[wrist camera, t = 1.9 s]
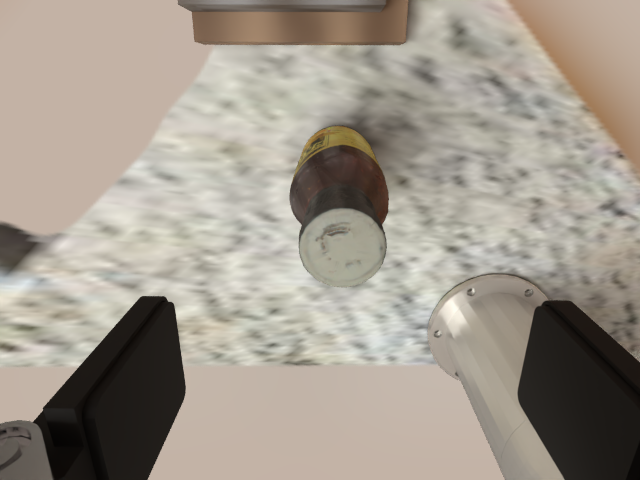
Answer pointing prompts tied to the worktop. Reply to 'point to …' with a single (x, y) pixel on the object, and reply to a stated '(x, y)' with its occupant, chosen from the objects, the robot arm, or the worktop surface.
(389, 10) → the dock
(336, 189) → the sauce bottle
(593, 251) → the worktop surface
